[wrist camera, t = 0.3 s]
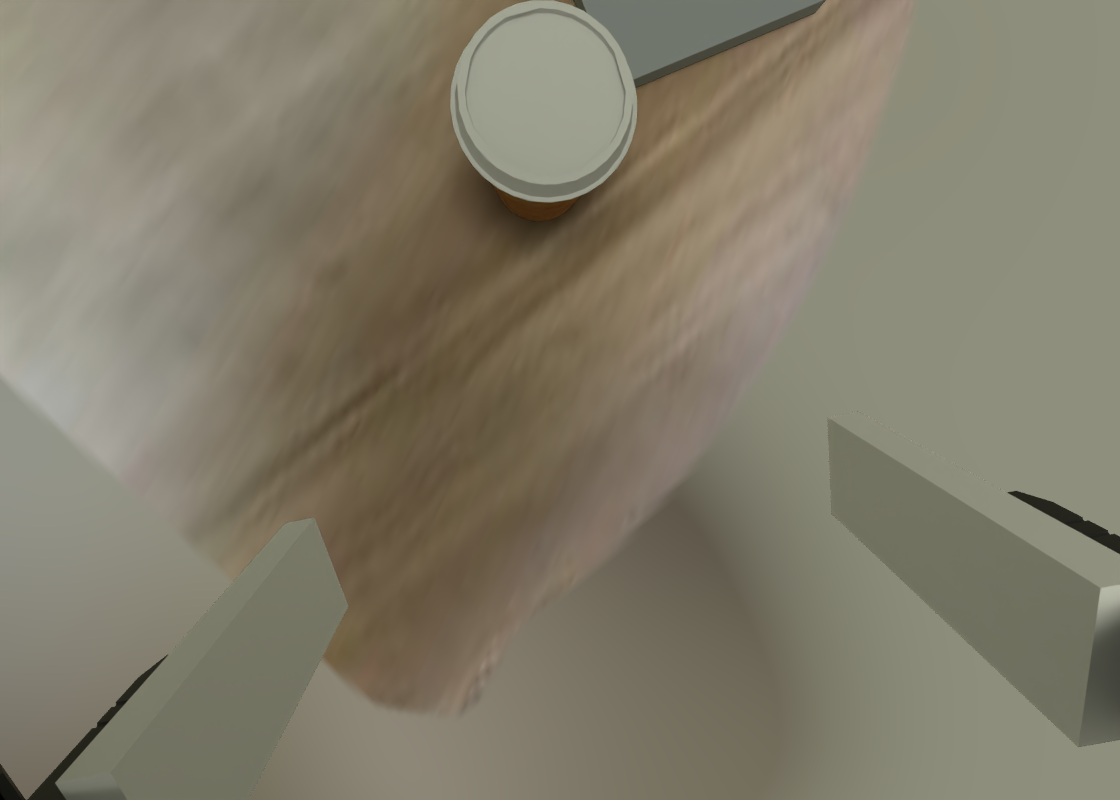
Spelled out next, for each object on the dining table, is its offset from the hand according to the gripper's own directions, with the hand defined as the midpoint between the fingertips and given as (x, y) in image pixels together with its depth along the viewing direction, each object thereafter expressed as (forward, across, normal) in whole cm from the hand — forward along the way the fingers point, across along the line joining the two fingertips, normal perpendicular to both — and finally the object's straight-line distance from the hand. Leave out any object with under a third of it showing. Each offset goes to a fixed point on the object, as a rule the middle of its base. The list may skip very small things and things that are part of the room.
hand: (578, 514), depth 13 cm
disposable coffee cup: (+29, +1, +11) cm, 31 cm away
